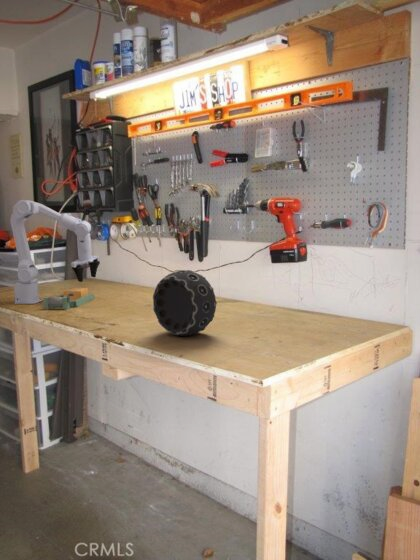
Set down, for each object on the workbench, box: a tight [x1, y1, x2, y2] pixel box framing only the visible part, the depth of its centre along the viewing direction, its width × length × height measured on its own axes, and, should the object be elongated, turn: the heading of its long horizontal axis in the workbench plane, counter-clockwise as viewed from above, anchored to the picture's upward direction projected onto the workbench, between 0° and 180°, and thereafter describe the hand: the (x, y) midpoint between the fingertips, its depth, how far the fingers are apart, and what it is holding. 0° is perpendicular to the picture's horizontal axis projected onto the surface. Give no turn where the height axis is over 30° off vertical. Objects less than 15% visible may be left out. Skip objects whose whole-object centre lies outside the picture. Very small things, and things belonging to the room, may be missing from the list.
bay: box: [43, 292, 95, 311], centre depth 215 cm, size 14×24×6 cm, turn 171°
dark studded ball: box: [152, 269, 218, 337], centre depth 157 cm, size 11×20×20 cm, turn 51°
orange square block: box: [62, 287, 89, 301], centre depth 223 cm, size 8×8×5 cm
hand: (86, 279), depth 225 cm, fingers open, 7 cm apart
